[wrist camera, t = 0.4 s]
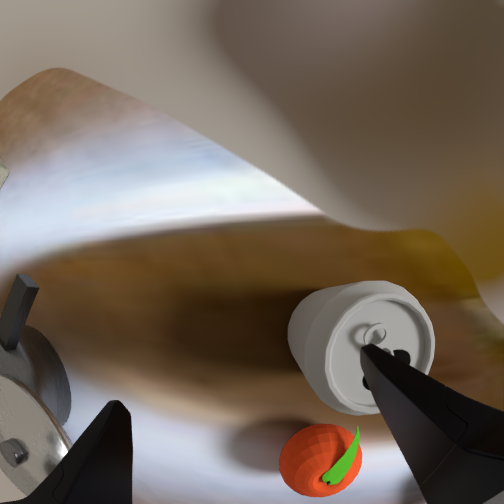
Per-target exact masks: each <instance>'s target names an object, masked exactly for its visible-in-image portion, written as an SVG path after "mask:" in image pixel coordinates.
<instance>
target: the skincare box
mask: <svg viewBox="0 0 504 504" xmlns="http://www.w3.org/2000/svg"><path fill="white" fill-rule="evenodd" d="M8 175H9V171H8V169H7V168H6V166H5V165H4V164H3V162H2V161H1V159H0V188H1V186H2V185H3V183H4V181H5V180H6V178H7V176H8Z"/></svg>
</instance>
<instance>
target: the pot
mask: <svg viewBox="0 0 504 504" xmlns="http://www.w3.org/2000/svg"><path fill="white" fill-rule="evenodd" d="M38 290H39V287H38V286H37V284H36V283H35V282H34V281H33V280H32V279H31V277H30V276H27V275H21V274H17V276H16V278H15V281H14V283H13V286H12V288H11V291H10V294H9V297H8V299H7V302H6V305H5V308H4V311H3V314H2V317H1V320H0V373H3V374H8V375H10V376H13V377H15V378H16V379H18V380H20V381H21V382H22V383H24V384H25V385H26V386H28V387H29V388H30V389H31V390H32V391H33V392H34V393H35V394H36V395H37V396H38V397H39V398H40V399H41V400H42V401H43V402H44V404H45V405H46V406H47V407H48V408H49V410H50V411H51V412H52V413H53V415H54V416H55V417H56V419H57V420H58V421H59V423H60V424H61V426H63V425H64V424H65V423H66V421H67V419H68V417H69V414H70V410H71V392H70V386H69V382H68V378H67V375H66V372H65V369H64V367H63V364H62V362H61V360H60V358H59V356H58V354H57V353H56V351H55V349H54V348H53V347H52V345H51V344H50V342H49V341H48V340H47V339H46V338H45V337H44V336H43V335H42V334H41V333H40V332H39V331H37V330H36V329H34V328H32V327H30V326H26V325H25V322H26V319H27V317H28V314H29V312H30V309H31V307H32V304H33V302H34V299H35V297H36V294H37V292H38Z"/></svg>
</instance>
